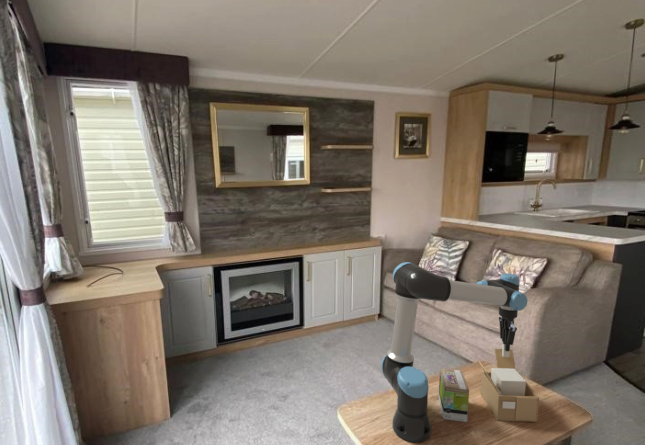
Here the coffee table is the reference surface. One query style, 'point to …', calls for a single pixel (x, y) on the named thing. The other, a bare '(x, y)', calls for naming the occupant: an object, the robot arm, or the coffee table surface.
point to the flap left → (488, 376)
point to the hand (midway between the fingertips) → (505, 356)
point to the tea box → (453, 395)
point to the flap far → (504, 359)
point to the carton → (509, 396)
